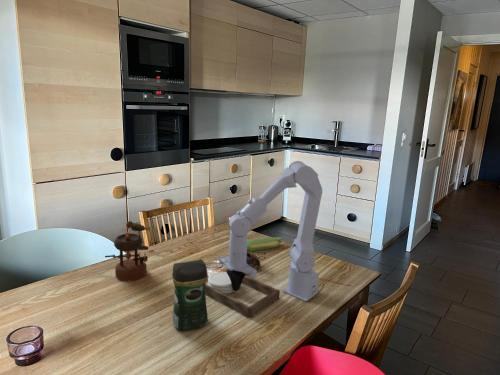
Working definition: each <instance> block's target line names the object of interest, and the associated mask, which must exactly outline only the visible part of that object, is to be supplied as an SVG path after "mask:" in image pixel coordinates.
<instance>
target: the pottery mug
mask: <svg viewBox="0 0 500 375" xmlns="http://www.w3.org/2000/svg"><path fill="white" fill-rule="evenodd" d="M246 263H247V264H248V265H249V266H250V267H251V265H252V266H253V267H254V266H255V267H258V269H259V272H261V271H262V266H261V261H260V259H259V257H258V256H257V255H256V254H255V253H253V252H252V251H250V250H249V249H247V258H246Z"/></svg>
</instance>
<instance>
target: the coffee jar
mask: <svg viewBox="0 0 500 375" xmlns="http://www.w3.org/2000/svg"><path fill="white" fill-rule="evenodd" d="M208 278H209V274H208V267H207V264H206V262H204V260H203V259H202V258H200V259H195V260H188V261H182V262H175V263H174V264H173V266H172V274H171V279H172V283H173V284H174V298H173V308H172V309H173V310H172V324H173V326H174V328H176V330H178V331H181V332H185V331H190V330H195V329H199V328H201V327H204V326H206V324H207V323H208V308H207V299H206V295H205V284H206V285H207V282H208Z"/></svg>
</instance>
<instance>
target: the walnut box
mask: <svg viewBox="0 0 500 375" xmlns="http://www.w3.org/2000/svg"><path fill="white" fill-rule="evenodd" d="M242 284H243V285H245V286H246V287H249V288H251V289H253V290H255V291H257V292H259V293H262V294H263V295H265V297H263V298H261V299H259V300H258V301H256V302H255V303H253V304H252V305H250V306H249V305H248V304H246V303H243V302H241V301H240V300H238V299H237V298H233V297H232V296H229V294H224V293H222V292H220V291H218V290H216V289H214V288H212V287H210V286H208V284H207V283H206V284H205V296H208V298H211V299H212V300H215V301H216V302H218V303H220V304H222V305H224V306H225V307H228V308H229V309H231V310H233V311H236V312H237V313H238V314H241V315H243V316H244V317H246V318H248V319H251V318H253V317H255V316H256V315H257V314H258V313H260V312H262V311H263V310H265V309H266V308H268V307H269V306H271V305H272V304H274V303H275V302H276V301H278V300H280V296H281V295H280V293H281V291H280V289H277V288H275V287H272V286H271V285H268V284H267V283H264V282H262V281H259V280H257V279H255V278H251V277H250V276H249V275H247V274H246V275H245V277H244V279H243V281H242V283H241V285H242Z"/></svg>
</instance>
